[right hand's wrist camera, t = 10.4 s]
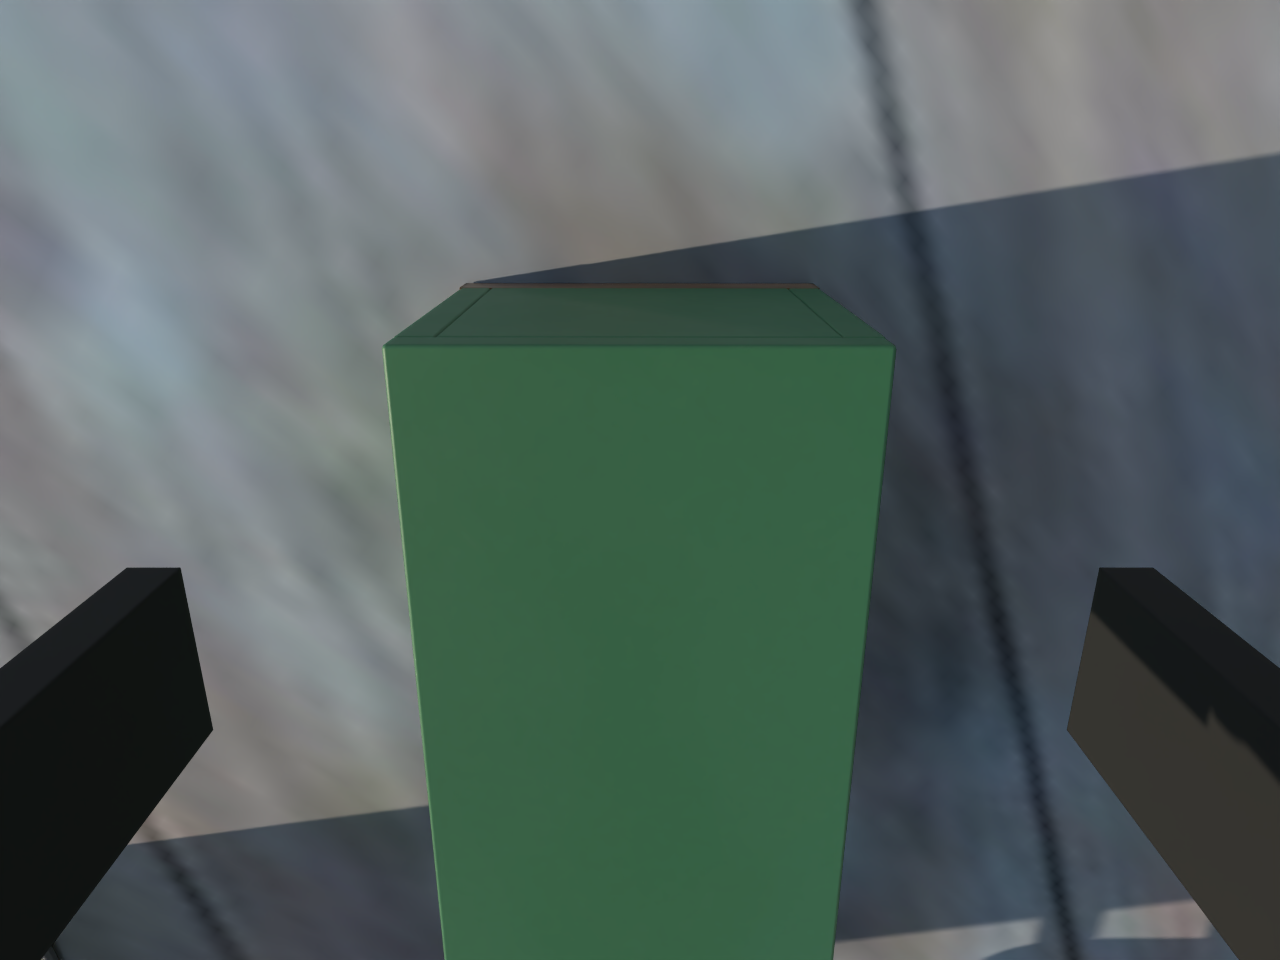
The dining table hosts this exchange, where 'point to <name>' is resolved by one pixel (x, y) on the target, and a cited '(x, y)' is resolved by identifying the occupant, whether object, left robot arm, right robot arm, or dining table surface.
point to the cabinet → (639, 610)
